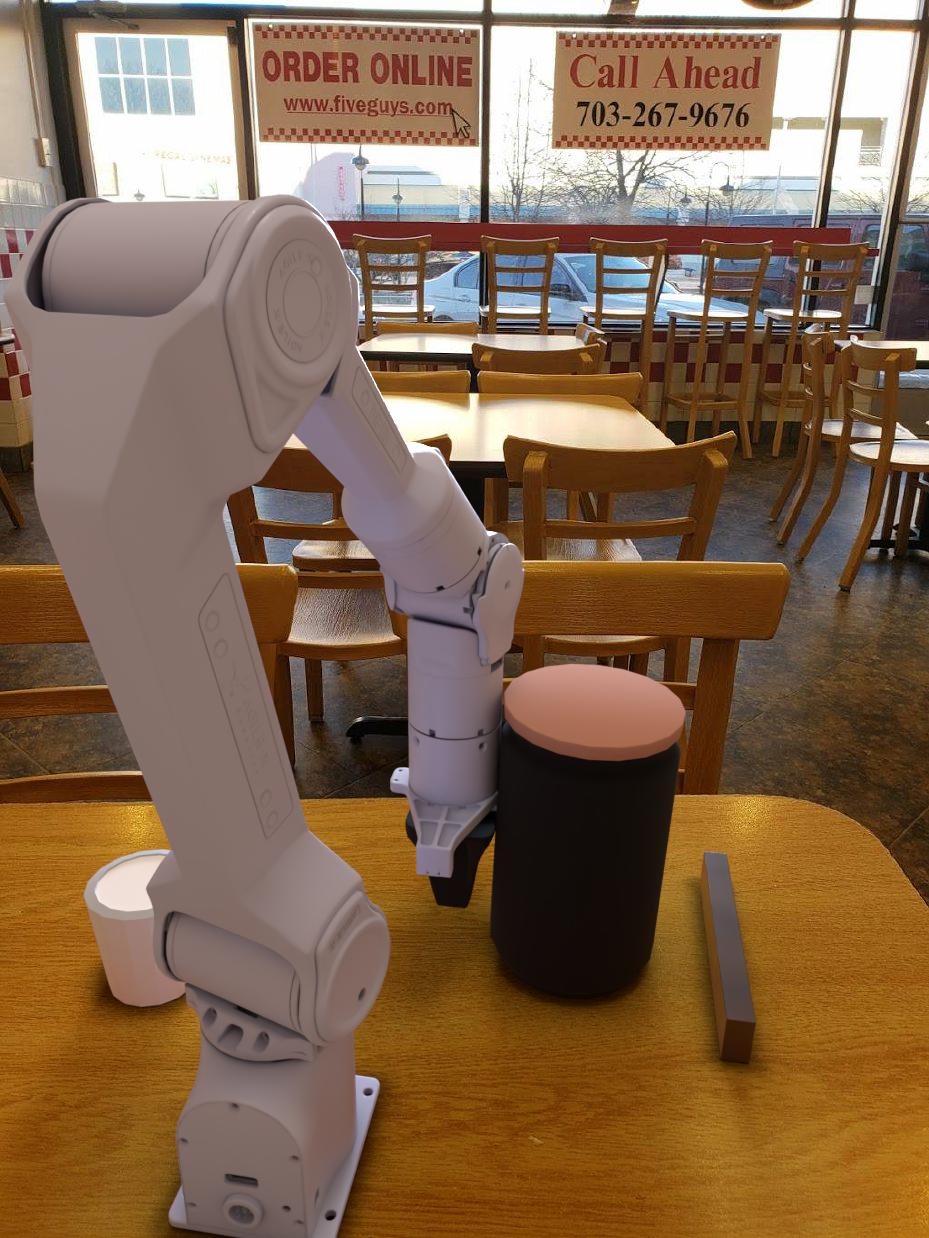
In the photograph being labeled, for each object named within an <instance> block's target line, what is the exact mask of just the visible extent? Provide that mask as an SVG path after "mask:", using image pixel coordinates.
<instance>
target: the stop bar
mask: <svg viewBox="0 0 929 1238" xmlns="http://www.w3.org/2000/svg"><path fill="white" fill-rule="evenodd" d="M701 863H702V864H701V872H700V879H699V880H700V881H699V892H700V901H701V910H702V916H703V926H704V935H705V942H706V950H707V958H708V959H707V960H708V965H709V966H708V968H709V974H710V982H711V990H712V998H713V999H712V1000H713V1007H714V1017H715V1025H716V1034H717V1040H718V1047H719V1048H718V1049H719V1058H720V1060H722V1061H728V1062H736V1063H744V1064H750V1062H751V1055H752V1049H753V1044H754V1037H755V1031H756V1025H757V1021H756V1015H755V1009H754V1003H753V997H752V992H751V987H750V986H751V985H750V980H749V974H748V969H747V963H746V962H747V961H746V956H745V952H744V946H743V939H742V934H741V928H740V924H739V923H740V922H739V917H738V911H737V905H736V898H735V893H734V887H733V881H732V875H731V870H730V864H729V858H728V854H727V853H725V852H724V853H723V852H716V851H715V852H714V851H703V857H702V862H701Z"/></svg>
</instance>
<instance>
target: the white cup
mask: <svg viewBox="0 0 929 1238" xmlns="http://www.w3.org/2000/svg"><path fill="white" fill-rule="evenodd" d="M170 851H171V849H163V848H160V849H150V850H148V849H147V850H140V851H137V852H134V853H130V854H127V855H123V856H121V857H117V858H116V859H114V860H113V861H110V862H109V863H107V864H105V865H104V866H102V867H100V868H99V869H98V870H97V871H96V872H95V874H94V875H93V876H92V877H90V879H88V880H87V883H86V886H85V889H84V892H83V899H84V903H85V906H86V909H87V912H88V916H89V919H90V923H91V926H92V930H93V933H94V937H95V940H96V944H97V947H98V951H99V954H100V958H101V961H102V965H103V969H104V972H105V975H106V978H107V979H106V980H107V982H108V986H109V988H110V992H111V994H112V996H113V997H114V998H116V999H117V1000H118V1001H120V1002H121V1003H123V1004H124V1005H128V1006H129V1005H130V1006H134V1007H138V1008H139V1007H140V1008H143V1007H151V1006H152V1007H153V1006H160V1005H164V1004H166V1003H169V1002H171V1001H173V1000H175V999H179V998H180V997H181V996H183V995H184V994H186V992H185V983H187V982H179V981H175V980H172V979H170V978H168V977H167V976H165V975H164V974H163V973H162V972H161V970H160V969H159V968H158V966H157V964H156V962H155V957H154V953H153V934H154V911H153V907H152V904H151V901H150V898H149V896H148V894H147V891H146V886H147V884H148V883H149V881H150V879H151V878H152V876H153V874H154V873H155V871H156V869H157V868H158V866H159V864H160V863H161V862H162V860H163V859H164V858H165V856H166V855H167V854H168V853H169V852H170Z"/></svg>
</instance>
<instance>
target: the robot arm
mask: <svg viewBox="0 0 929 1238" xmlns="http://www.w3.org/2000/svg"><path fill="white" fill-rule="evenodd" d="M2 296H3V297H2V299H3V302H4V305H5V307H6V310H7V312H8V316H9V318H10V321H11V324H12V327H13V329H14V332H15V334H16V338H17V340H18V342H19V345H20V348H21V351H22V353H23V357H24V359H25V361H26V364H27V367H28V370H29V373H30V375H31V380H32V381H31V382H32V383H31V384H32V385H31V386H32V387H31V389H32V442H33V443H32V444H33V445H32V447H33V451H32V452H33V488H34V497H35V500H36V505H37V507H38V512H39V516H40V519H41V522H42V524H43V527H44V529H45V532H46V535H47V537H48V539H49V542H50V544H51V547H52V549H53V552H54V555H55V557H56V560H57V563H58V564H59V567H60V570H61V572H62V575H63V577H64V580H65V582H66V585H67V588H68V591H69V593H70V595H71V597H72V600H73V603H74V606H75V608H76V610H77V613H78V615H79V617H80V621H81V623H82V625H83V628H84V630H85V633H86V635H87V636H86V637H87V638H88V640H89V643H90V646H91V648H92V651H93V654H94V657H95V658H96V661H97V663H98V666H99V668H100V671H101V674H102V676H103V679H104V681H105V684H106V686H107V689H108V691H109V694H110V696H111V699H112V702H113V705H114V707H115V709H116V711H117V715H118V717H119V720H120V721H121V724H122V727H123V729H124V732H125V734H126V737H127V739H128V741H129V742H128V743H129V745H130V747H131V749H132V753H133V754H134V757H135V759H136V762H137V765H138V768H139V770H140V772H141V775H142V778H143V780H144V782H145V785H146V788H147V789H148V792H149V795H150V798H151V800H152V803H153V805H154V808H155V811H156V813H157V815H158V818H159V821H160V823H161V826H162V828H163V830H164V833H165V836H166V838H167V841H168V843H169V846H170V848H171V849H170V850H171V851H170V852H169V853H168V854H167V855H166V856H165V858H164V859H163V860H162V862H161V863H160V864H159V866H158V868H157V869H156V871H155V873H154V874H153V876H152V878H151V879H150V881H149V883H148V884H147V886H146V891H147V894H148V896H149V898H150V901H151V904H152V907H153V911H154V934H153V953H154V957H155V962H156V964H157V966H158V968H159V969H160V970H161V972H162V973H163V974H164V975H165V976H167V977H168V978H170V979H172V980H175V981H179V982H187V983H185V999H186V1006H188V1007H189V1008H191V1009H192V1010H194V1012H196V1014H197V1017H198V1020H199V1031H200V1032H199V1033H200V1052H199V1063H198V1067H197V1072H196V1075H195V1078H194V1083H193V1086H192V1088H191V1090H190V1093H189V1095H188V1097H187V1100H186V1102H185V1104H184V1106H183V1108H182V1109H181V1112H180V1114H179V1117H178V1120H177V1123H176V1128H175V1145H176V1152H177V1160H178V1167H179V1175H180V1182H181V1185H180V1188H179V1189H178V1192H177V1193H176V1196H175V1198H174V1200H173V1202H172V1204H171V1206H170V1208H169V1211H168V1214H167V1215H168V1216H167V1217H168V1221H169V1222H168V1223H169V1224H170V1225H171V1226H172V1227H174V1228H177V1229H185V1230H190V1231H196V1232H202V1233H207V1234H212V1235H213V1234H215V1235H220V1236H225V1237H231V1238H338V1234H339V1230H340V1228H341V1224H342V1220H343V1217H344V1213H345V1210H346V1208H347V1207H346V1206H347V1204H348V1200H349V1196H350V1193H351V1189H352V1187H353V1184H354V1183H353V1182H354V1179H355V1176H356V1173H357V1169H358V1166H359V1162H360V1160H361V1155H362V1153H363V1149H364V1146H365V1141H366V1138H367V1136H368V1131H369V1128H370V1125H371V1121H372V1118H373V1114H374V1111H375V1107H376V1104H377V1101H378V1097H379V1094H380V1088H381V1084H380V1081H379V1080H378V1079H377V1078H376V1077H370V1076H364V1075H357V1074H356V1053H355V1050H356V1049H355V1030H356V1029H357V1028H358V1027H359V1026H361V1024H362V1023H363V1022H364V1021H365V1019H366V1018H367V1016H368V1015H369V1013H370V1012H371V1010H372V1008H373V1006H374V1005H375V1003H376V1001H377V999H378V996H379V994H380V993H381V989H382V987H383V984H384V981H385V978H386V974H387V971H388V967H389V962H390V957H391V935H390V930H389V927H388V920H387V917H386V915H385V913H384V911H383V909H382V908H381V907H380V906H379V905H377V904H375V903H374V902H372V901H371V900H370V899H369V897H368V895H367V892H366V889H365V884H364V880H363V877H362V876H361V875H360V874H359V872H357V871H356V870H355V869H354V868H352V866H350V865H349V864H348V863H347V862H346V861H345V860H343V858H341V857H340V856H339V855H338V854H337V853H335V851H333V850H332V849H331V848H330V847H329V846H327V845H326V844H325V843H324V842H323V841H322V840H320V839H319V838H318V837H317V836H316V835H315V834H314V833H313V832H312V831H311V830H310V829H309V828H308V824H307V819H306V816H305V813H304V809H303V805H302V802H301V799H300V794H299V791H298V787H297V784H296V780H295V777H294V773H293V770H292V765H291V762H290V758H289V754H288V750H287V747H286V743H285V740H284V736H283V732H282V729H281V725H280V722H279V718H278V715H277V710H276V707H275V704H274V699H273V696H272V692H271V688H270V686H269V685H270V684H269V681H268V679H267V675H266V671H265V667H264V663H263V660H262V656H261V652H260V649H259V645H258V641H257V637H256V634H255V630H254V626H253V623H252V620H251V615H250V612H249V608H248V604H247V601H246V597H245V594H244V590H243V586H242V582H241V579H240V576H239V572H238V568H237V565H236V561H235V557H234V554H233V550H232V546H231V543H230V539H229V535H228V532H227V529H226V525H225V521H224V510H225V507H226V505H227V503H228V500H229V499H230V497H231V495H234V494H235V493H238V492H240V491H242V490H245V489H247V488H249V487H251V486H253V485H255V484H257V483H259V482H260V481H262V480H263V478H264V477H265V476H266V474H267V473H268V471H269V470H270V468H271V467H272V465H273V464H274V462H275V461H276V459H277V458H278V456H279V455H280V454H281V452H282V451H283V449H284V448H285V446H286V445H287V443H288V442H289V440H290V439H291V438H292V436H293V435H294V436H295V438H297V440H299V442H301V443H302V444H303V446H304V447H305V448H306V449H307V450H308V451H309V452H310V453H311V454H312V455H313V456H314V457H315V458H316V459H317V460H318V461H319V462H320V463H321V464H322V465H323V466H324V467H325V468H326V470H328V471H329V472H330V473H331V474H332V475H333V476H334V478H335V479H336V480H337V481H339V483H340V484H341V485H342V486H343V489H342V494H341V501H340V502H341V503H340V506H341V513H342V517H343V519H344V522H345V523H346V525H347V527H348V528H349V529H350V531H351V532H352V533H353V534H354V535H355V537H356V538H357V539H358V540H359V541H360V543H362V545H363V546H364V547H365V548H366V550H368V552H369V553H370V554H371V555H372V556H373V558H375V560H376V561H377V562H378V564H379V571H380V573H381V574H382V575H383V579H384V592H385V593H384V594H385V598H386V602H387V604H388V607H389V610H390V611H393V612H394V611H395V612H396V613H397V614H399V615H403V616H407V617H408V619H406V627H407V629H406V631H407V633H406V634H407V635H406V637H407V639H406V643H407V711H408V712H407V713H408V715H407V716H408V718H407V722H408V723H407V724H408V727H407V728H408V729H407V730H408V732H407V734H408V767H397V768H395V769H394V771H393V773H392V775H391V777H390V779H389V780H390V781H389V784H390V786H389V788H390V791H391V792H392V793H396V794H403V795H404V796H406V799H407V802H408V806H409V810H408V813H407V815H406V817H405V823H404V824H405V832H406V837H407V838H408V839H409V841H410V842H411V843H412V844H413V845H414V847H415V870H416V872H415V874H416V875H420V876H421V875H422V876H428V879H429V883H430V887H431V891H432V894H433V897H434V900H435V902H436V905H437V906H440V907H449V908H456V909H457V908H458V909H467V908H468V907H469V905H470V901H471V898H472V894H473V892H474V886H475V882H476V877H477V873H478V867H479V863H480V861H481V858H482V857H483V855H484V853H485V852H486V850H487V849H488V848H489V846H490V844H491V842H492V841H493V839H494V838H495V829H496V810H497V803H498V779H499V760H500V744H501V732H502V729H503V725H502V724H503V698H504V690H503V689H504V659H505V654H507V653H508V652H509V651H510V649H511V647H512V641H513V639H514V633H515V631H514V630H515V629H514V628H515V619H516V614H517V610H518V607H519V604H520V601H521V597H522V591H523V589H524V580H525V568H524V567H523V559H522V555H521V552H520V549H519V548H518V547H517V545H515V544H514V543H511V542H510V540H509V539H508V537H507V535H505V534H504V533H502V532H496V531H489V530H487V529H486V527H485V525H484V524H483V522H482V521H481V519H480V517H479V515H478V514H477V512H476V510H475V509H474V508H473V506H472V504H471V503H470V501H469V500H468V498H467V496H466V495H465V493H464V491H463V490H462V488H461V485H460V484H459V483H458V482H457V480H456V478H455V476H454V475H453V474H452V472H451V470H450V469H449V467H448V466H447V464H446V462H447V461H446V459H445V457H444V455H443V454H442V453H441V450H440V449H439V448H438V447H433V446H432V447H431V446H427V445H425V444H423V443H418V442H413V441H406V439H404V437H403V434H402V433H401V431H400V429H399V426H398V425H397V423H396V421H395V419H394V417H393V415H392V413H391V410H390V409H389V407H388V405H387V403H386V401H385V399H384V397H383V395H382V393H381V391H380V390H379V387H378V386H377V385H378V384H377V383H376V382H375V380H374V378H373V375H372V373H371V372H370V370H369V367H368V366H367V364H366V362H365V360H364V358H363V356H362V354H361V352H360V350H359V348H358V346H357V342H358V333H359V324H360V309H361V308H360V307H361V306H360V305H361V303H360V302H361V301H360V300H361V299H360V283H359V280H358V278H357V276H356V275H355V273H354V272H353V271H352V270H351V268H350V267H349V266H348V265H347V261H346V258H345V256H344V253H343V251H342V248H341V245H340V243H339V241H338V239H337V237H336V234H335V232H334V231H333V229H332V227H331V226H330V224H329V222H328V221H327V219H326V218H325V217H324V216H323V214H322V213H321V212H320V211H319V210H318V209H317V208H316V207H315V206H314V205H312V204H311V203H310V202H308V201H307V200H305V199H303V198H302V197H298V196H295V195H292V194H285V193H284V194H283V193H282V194H281V193H279V194H273V195H265V196H258V197H256V198H255V199H246V200H245V199H244V200H243V199H241V200H240V199H239V200H234V199H233V200H180V201H179V200H171V201H116V202H115V201H112V200H108V199H105V198H102V197H79V198H74V199H70V200H67V201H66V202H63V203H61V204H58V205H57V206H56V207H54V208H53V209H52V210H50V211H49V212H48V213H47V214H46V215H45V217H43V219H42V220H41V221H40V223H39V224H38V226H37V227H36V229H35V231H34V232H33V234H32V236H31V238H30V240H29V242H28V243H27V247H26V248H25V250H24V252H23V254H22V256H21V258H20V260H19V262H18V264H17V267H16V268H15V270H14V271H13V275H12V276H11V278H10V280H9V282H8V284H7V286H6V288H5V290H4V292H3V295H2ZM367 1094H370V1095H367ZM329 1217H334V1218H333V1219H332V1220H328V1218H329Z"/></svg>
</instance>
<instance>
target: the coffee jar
mask: <svg viewBox="0 0 929 1238" xmlns="http://www.w3.org/2000/svg"><path fill="white" fill-rule="evenodd" d="M503 708H504V709H503V710H504V711H503V712H504V718H505V720H506V722H505V723H504V725H502V729H501V744H500V760H499V779H498V803H497V810H496V829H495V834H494V846H493V847H494V848H493V863H492V880H491V895H490V913H489V936H490V938H491V939H492V940H491V941H492V942H493V944H494V947H495V949H496V951H497V953H498V955H499V957H500V959H501V960H502V961H503V962H504V963H505V965H506V966H507V968H509V970H511V972H512V973H514V974H515V975H516V977H517V978H519V980H520V981H522V982H524V983H526V984H528V985H529V986H531V987H533V988H535V989H537V990H539V991H540V992H544V993H547V994H550V995H554V996H558V997H561V998H568V999H569V998H570V999H571V998H572V999H591V998H596V997H601V996H604V995H605V996H606V995H609V994H612V993H613V992H615V991H617V990H619V989H621V988H622V987H623V988H624V987H625V986H626V985H628V984H629V983H630V982H631V981H632V980H634V979H636V978H637V976H638V975H639V974H640V973H641V971H642V970H643V969H644V968H645V967H646V965H647V964H648V963H649V962H650V960H651V957H652V952H653V947H654V943H655V937H656V935H655V934H656V928H657V922H658V915H659V908H660V901H661V895H662V888H663V881H664V873H665V867H666V861H667V860H666V859H667V854H668V853H667V851H668V845H669V839H670V832H671V825H672V818H673V811H674V804H675V798H676V797H675V796H676V792H677V791H676V790H677V784H678V783H677V782H678V775H679V769H680V762H681V755H682V751H681V746H680V744H679V740H680V739H681V737H682V732H683V729H684V725H685V720H686V717H687V712H686V709H685V707H684V705H683V703H682V700H681V699H680V698H679V697H678V696H677V695H676V694H675V693H674V692H673V691H672V690H671V689H670V688H669V687H668V686H665V685H664V684H663V683H662V684H661V683H660V682H658V681H656V680H654V679H652V678H650V677H648V676H645V675H644V674H643V675H642V674H639V673H636V672H633V671H630V670H626V669H624V668H618V667H611V666H605V665H599V664H585V663H568V664H567V663H566V664H558V665H547V666H544V667H540V668H537V669H534V670H530V671H526V672H525V673H523V674H521V675H520V676H518V677H516V678H514V679H513V680H512V681H511V682H510V683H509V684H508V686H507V688H506V689H505V690H504V691H503Z"/></svg>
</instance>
